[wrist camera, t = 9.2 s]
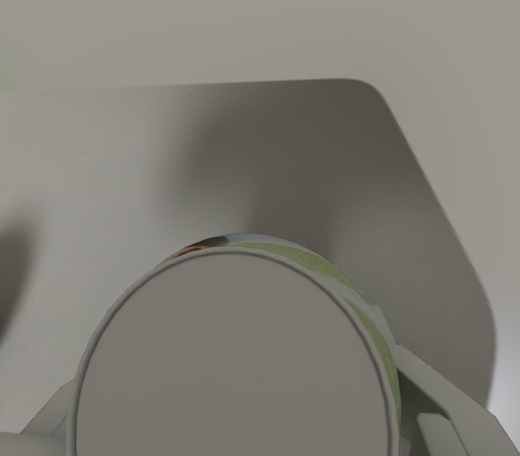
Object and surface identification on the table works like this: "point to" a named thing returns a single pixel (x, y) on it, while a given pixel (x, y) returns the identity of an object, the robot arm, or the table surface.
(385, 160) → the table surface
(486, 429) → the robot arm
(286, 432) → the beverage can
